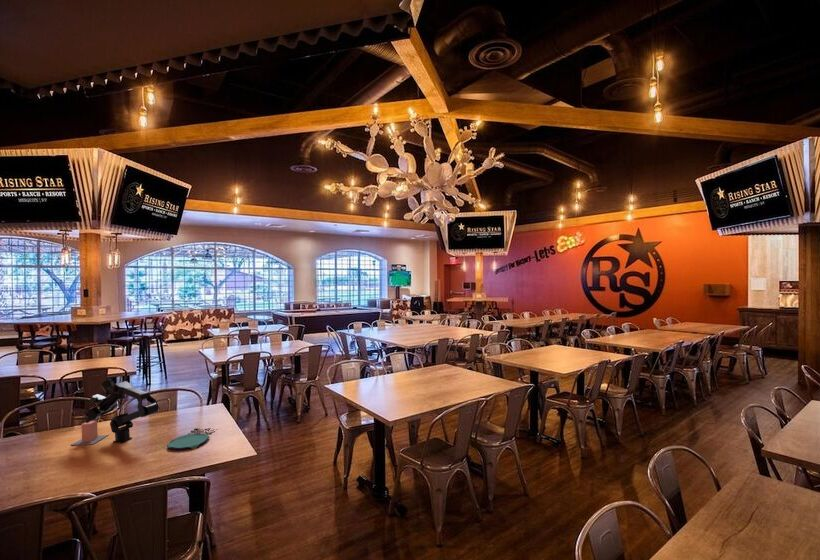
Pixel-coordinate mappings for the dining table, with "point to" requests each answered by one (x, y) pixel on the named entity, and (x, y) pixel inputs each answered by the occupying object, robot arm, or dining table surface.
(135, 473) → the dining table surface
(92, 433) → the red block
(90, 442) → the slate mat
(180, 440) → the green leaf shaped mat
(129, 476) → the dining table surface
